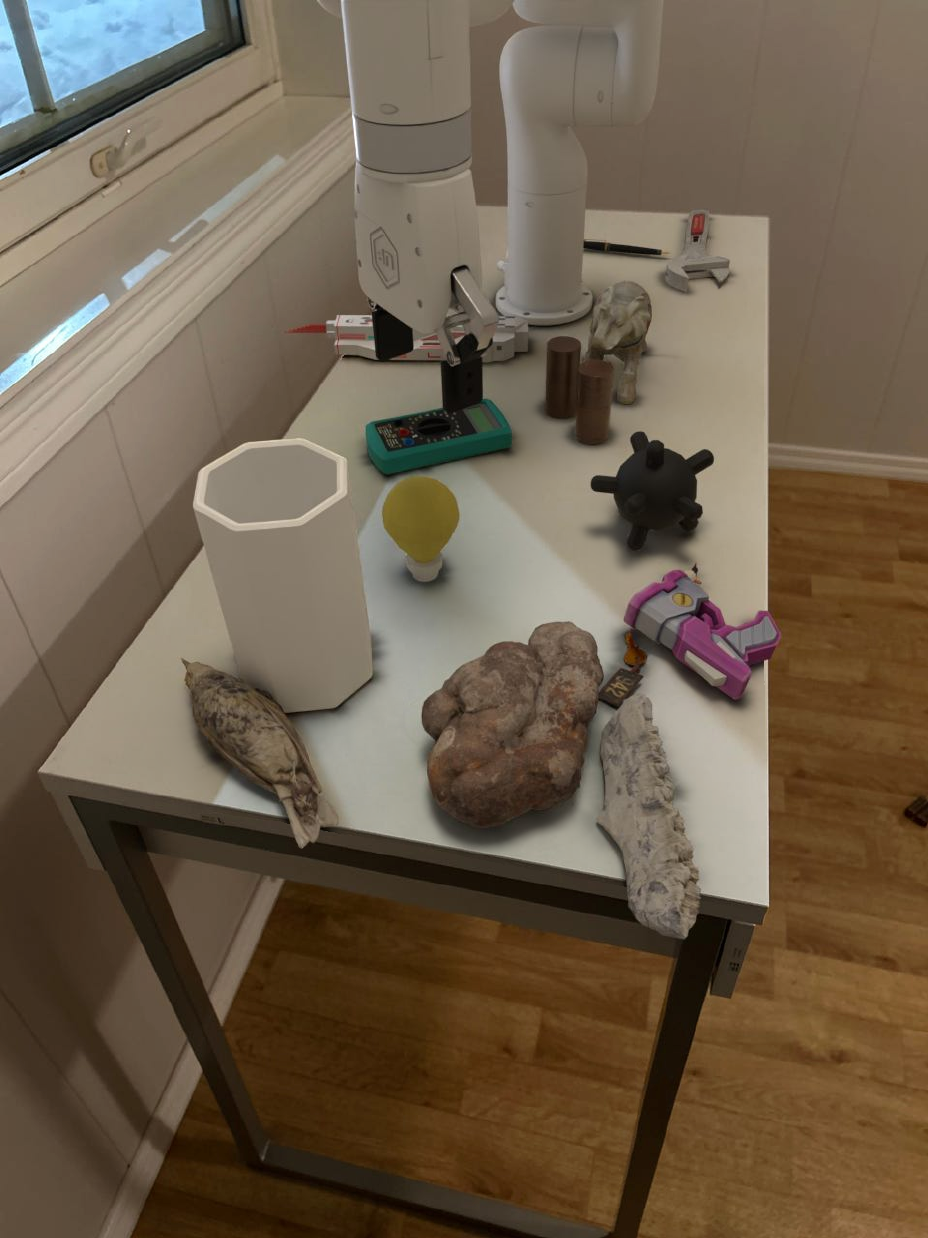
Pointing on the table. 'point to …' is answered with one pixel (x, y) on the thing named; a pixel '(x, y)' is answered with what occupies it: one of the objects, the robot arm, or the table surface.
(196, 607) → the table surface
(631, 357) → the figurine
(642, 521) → the toy ball
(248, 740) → the bird model
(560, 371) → the peg far
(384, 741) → the table surface
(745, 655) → the toy gun
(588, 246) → the fountain pen
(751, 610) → the table surface
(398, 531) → the yellow light bulb
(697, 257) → the adjustable wrench
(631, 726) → the fossil
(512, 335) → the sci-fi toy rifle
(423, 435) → the digital multimeter
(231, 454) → the cup
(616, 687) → the key tag
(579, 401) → the peg mid
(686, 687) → the table surface
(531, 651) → the rock
